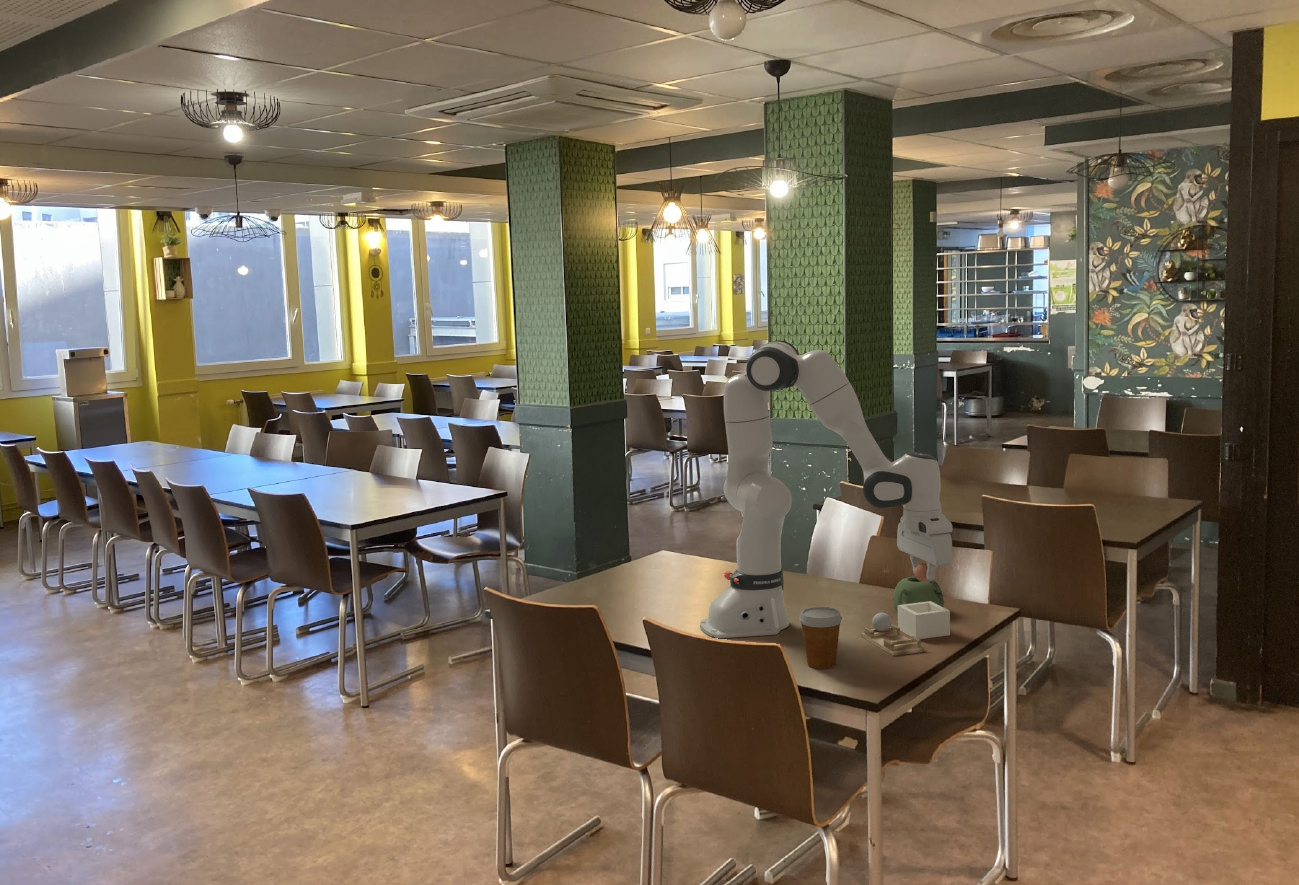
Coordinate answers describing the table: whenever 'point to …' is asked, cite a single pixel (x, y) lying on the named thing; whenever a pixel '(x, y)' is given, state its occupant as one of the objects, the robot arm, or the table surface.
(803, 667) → the table surface
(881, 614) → the grey ball
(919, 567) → the red ball
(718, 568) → the table surface
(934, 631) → the white open box
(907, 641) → the rack
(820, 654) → the disposable coffee cup
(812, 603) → the table surface
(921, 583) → the green rounded piece
